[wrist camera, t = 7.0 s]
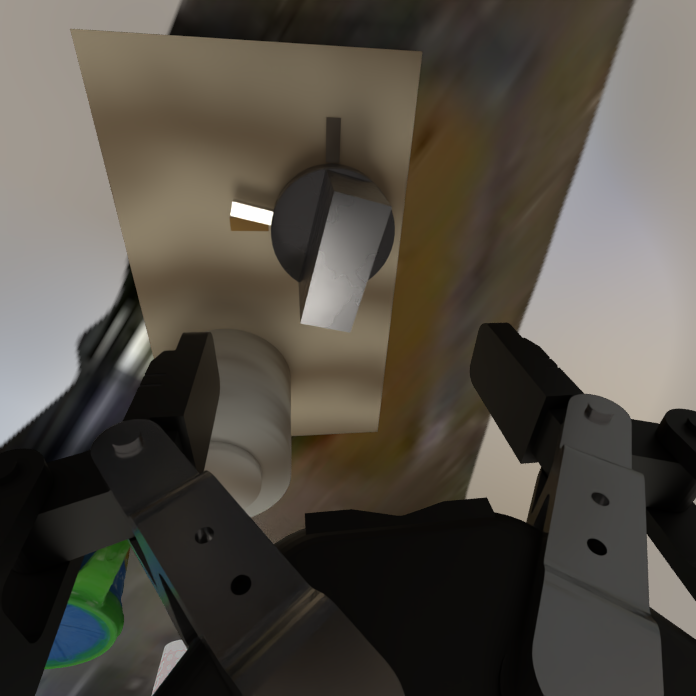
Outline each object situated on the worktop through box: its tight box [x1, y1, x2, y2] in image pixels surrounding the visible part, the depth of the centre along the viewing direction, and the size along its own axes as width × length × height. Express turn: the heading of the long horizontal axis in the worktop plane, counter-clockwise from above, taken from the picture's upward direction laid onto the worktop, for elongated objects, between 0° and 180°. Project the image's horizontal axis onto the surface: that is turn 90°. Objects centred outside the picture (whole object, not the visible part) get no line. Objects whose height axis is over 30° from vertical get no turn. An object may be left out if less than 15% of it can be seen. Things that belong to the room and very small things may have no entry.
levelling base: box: [70, 29, 422, 517], centre depth 22 cm, size 24×15×11 cm, turn 177°
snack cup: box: [44, 540, 130, 669], centre depth 32 cm, size 16×10×10 cm
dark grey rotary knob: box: [230, 163, 395, 333], centre depth 20 cm, size 8×6×6 cm
